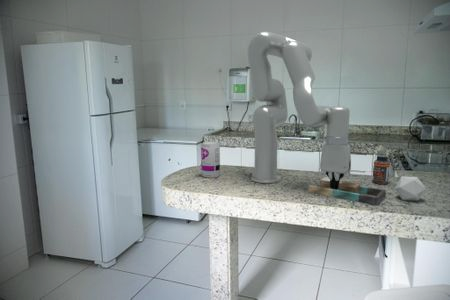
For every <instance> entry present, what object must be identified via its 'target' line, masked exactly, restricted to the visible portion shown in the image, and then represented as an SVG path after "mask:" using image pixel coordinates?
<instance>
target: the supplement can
mask: <svg viewBox="0 0 450 300" xmlns="http://www.w3.org/2000/svg"><path fill="white" fill-rule="evenodd" d="M220 147H221V146H220V144H219V142H218V141H203V142H202V144H201V145H200V155H201V156H200V157H201V159H200V161H201V162H200V163H201V169H200V170H201V176H202V177H203V178H207V179H214V178H218V177H219V176H220V175H221V156H220V155H221V154H220V153H221V151H220Z"/></svg>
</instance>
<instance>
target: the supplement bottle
mask: <svg viewBox="0 0 450 300" xmlns="http://www.w3.org/2000/svg"><path fill="white" fill-rule="evenodd" d="M388 159H389V157H388V155H386V154H385V155H384V154H378V155H376V159H375V160H374V161H373V165H372V166H373V167H372V175H371V176H372V180H371V181H372V183H374V184H377V185H388V183H389V178H390V177H389V175H390V164H391V163H390V161H389V160H388Z"/></svg>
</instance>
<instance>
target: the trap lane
mask: <svg viewBox="0 0 450 300" xmlns="http://www.w3.org/2000/svg"><path fill="white" fill-rule="evenodd" d="M322 179H323V178H321V179H319V181H318V182H319V184H318V185H319V186H318V185H317V186H316V185H312V184H310V185H308V193H310V194H311V193H312V194H316V195H321V196H326V197H331V198H335V199H341V200H347V201H352V202H358V203H362V204H367V205H372V206H379V204H380V203H381V202H382V201H383V200H384V199H385V198H386V196H387V195H386V193H387V189H382V188H375V187H370V186H365V185H364V186H362V185H360V194H357V193H352V192H346V191H340V190H338V189H337V190H335V189H331V187H330V181H328V180H322ZM341 183H342V182H339V184H341Z"/></svg>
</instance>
